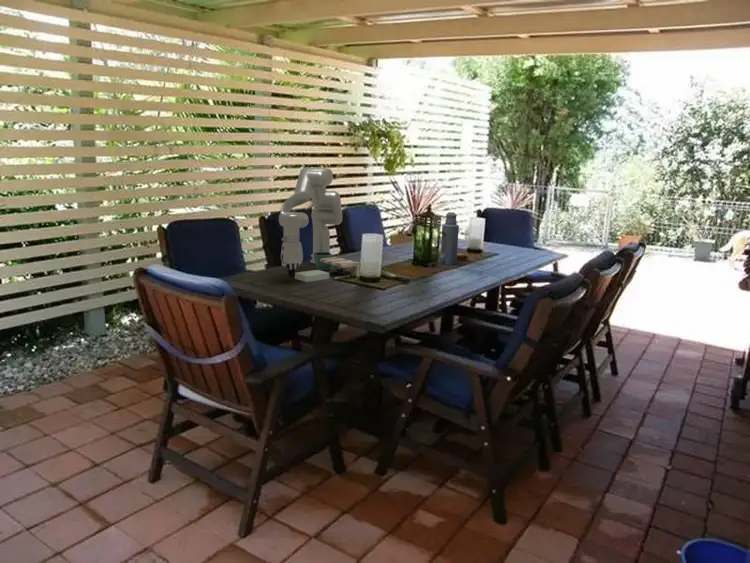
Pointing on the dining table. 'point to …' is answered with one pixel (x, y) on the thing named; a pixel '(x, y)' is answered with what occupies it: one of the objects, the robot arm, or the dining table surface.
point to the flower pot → (322, 265)
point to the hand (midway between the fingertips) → (291, 276)
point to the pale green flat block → (312, 275)
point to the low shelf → (343, 266)
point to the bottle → (449, 240)
